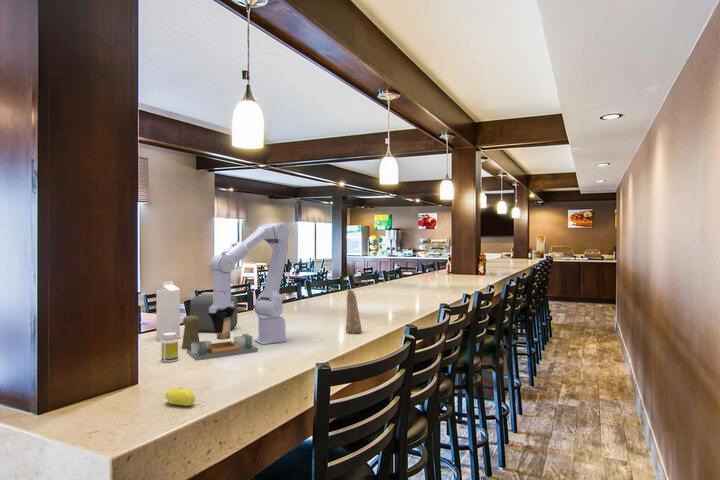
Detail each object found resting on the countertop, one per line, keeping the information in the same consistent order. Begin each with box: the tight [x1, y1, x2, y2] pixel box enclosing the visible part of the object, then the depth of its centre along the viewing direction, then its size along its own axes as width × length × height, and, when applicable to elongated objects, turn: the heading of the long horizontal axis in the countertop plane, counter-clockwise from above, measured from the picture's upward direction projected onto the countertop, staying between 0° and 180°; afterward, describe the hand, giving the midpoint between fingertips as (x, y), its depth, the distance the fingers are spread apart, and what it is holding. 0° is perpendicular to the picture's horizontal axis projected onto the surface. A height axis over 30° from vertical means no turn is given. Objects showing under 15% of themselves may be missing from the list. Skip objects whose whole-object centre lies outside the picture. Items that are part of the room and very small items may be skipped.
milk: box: [155, 280, 181, 342], centre depth 175 cm, size 6×6×22 cm
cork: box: [181, 315, 200, 350], centre depth 162 cm, size 6×6×11 cm
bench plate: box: [186, 333, 259, 361], centre depth 155 cm, size 20×13×5 cm, turn 124°
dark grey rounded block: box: [189, 291, 238, 333], centre depth 192 cm, size 16×11×16 cm
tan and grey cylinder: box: [216, 316, 231, 340], centre depth 155 cm, size 5×5×7 cm
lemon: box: [164, 387, 196, 407], centre depth 106 cm, size 4×8×4 cm, turn 64°
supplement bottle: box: [161, 333, 179, 363], centre depth 144 cm, size 5×5×8 cm
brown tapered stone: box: [345, 289, 362, 335], centre depth 186 cm, size 6×18×6 cm
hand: (222, 331), depth 155 cm, fingers closed on tan and grey cylinder, 4 cm apart
